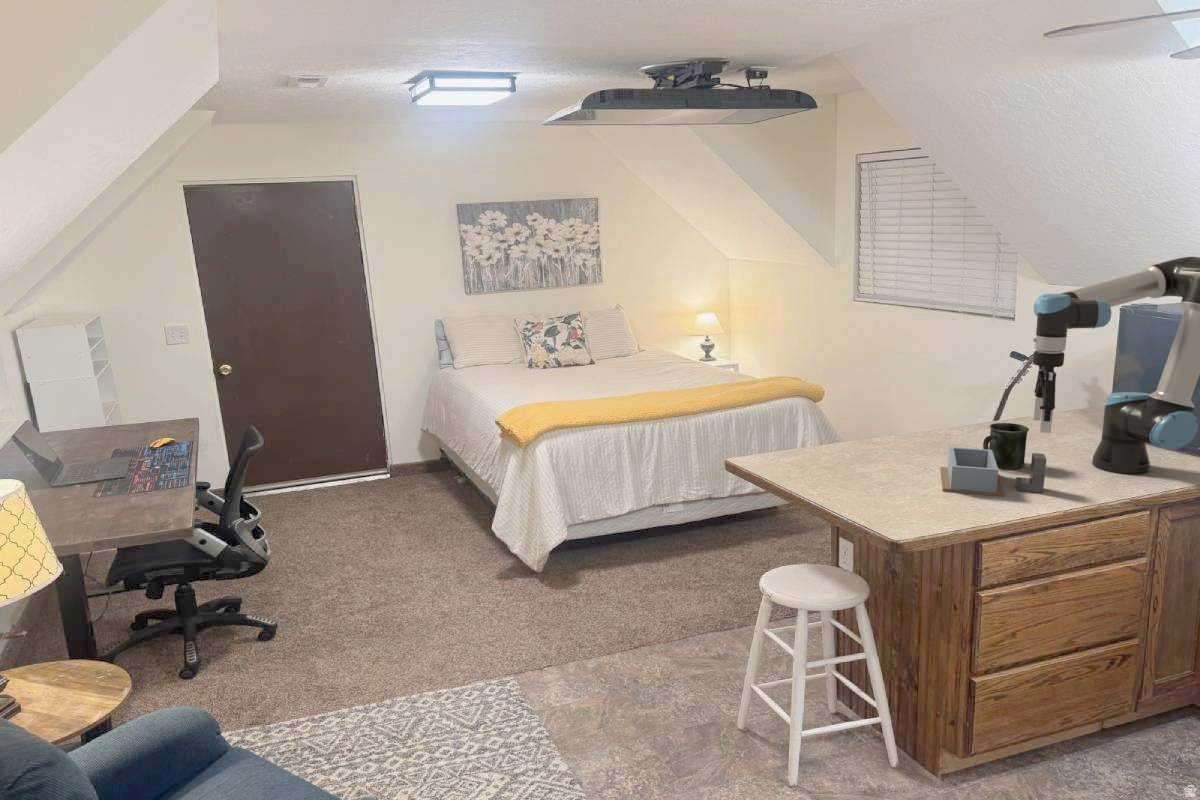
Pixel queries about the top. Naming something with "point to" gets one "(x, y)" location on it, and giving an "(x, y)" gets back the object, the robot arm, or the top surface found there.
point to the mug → (1007, 444)
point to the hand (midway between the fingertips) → (1041, 426)
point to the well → (971, 472)
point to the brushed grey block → (1033, 475)
